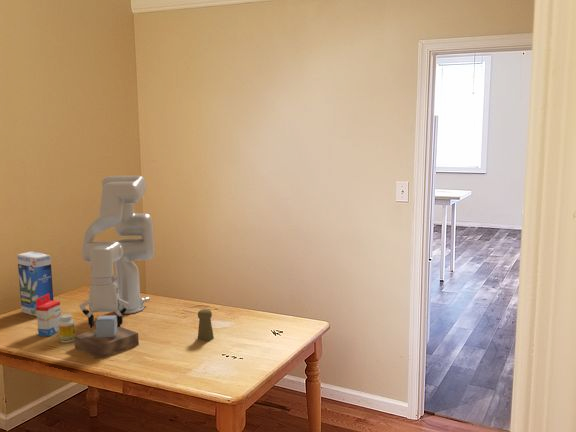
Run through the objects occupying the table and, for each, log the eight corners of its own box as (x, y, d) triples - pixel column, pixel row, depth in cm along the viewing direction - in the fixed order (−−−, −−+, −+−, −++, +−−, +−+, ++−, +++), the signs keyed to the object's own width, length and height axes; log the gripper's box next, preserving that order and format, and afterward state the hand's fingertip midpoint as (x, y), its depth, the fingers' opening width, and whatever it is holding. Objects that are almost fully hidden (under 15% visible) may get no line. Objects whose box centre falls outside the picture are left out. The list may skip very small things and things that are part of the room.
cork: (200, 342, 210) (199, 313, 209) (195, 337, 216) (194, 309, 214) (216, 339, 213) (215, 311, 211) (210, 334, 218) (209, 306, 217)
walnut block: (113, 336, 219) (112, 323, 218) (138, 346, 209) (138, 333, 208) (75, 349, 206) (74, 336, 206) (100, 360, 196) (99, 346, 196)
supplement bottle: (59, 339, 215) (57, 314, 214) (74, 336, 217) (72, 312, 216) (60, 344, 210) (58, 319, 209) (76, 341, 213) (74, 316, 211)
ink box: (49, 337, 218) (46, 299, 215) (38, 336, 218) (34, 299, 216) (62, 329, 226) (59, 293, 224) (51, 328, 227) (48, 292, 224)
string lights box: (21, 312, 247) (16, 254, 243) (36, 307, 253) (32, 251, 250) (40, 317, 240) (35, 257, 236) (55, 312, 247) (51, 254, 243)
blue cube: (117, 330, 210) (116, 315, 209) (113, 336, 204) (112, 320, 203) (100, 331, 210) (99, 315, 209) (96, 337, 204) (95, 321, 203)
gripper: (129, 276, 208) (132, 321, 211) (81, 278, 207) (84, 323, 209) (125, 282, 201) (128, 329, 203) (75, 284, 199) (78, 330, 202)
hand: (105, 326), depth 206 cm, fingers open, 9 cm apart
